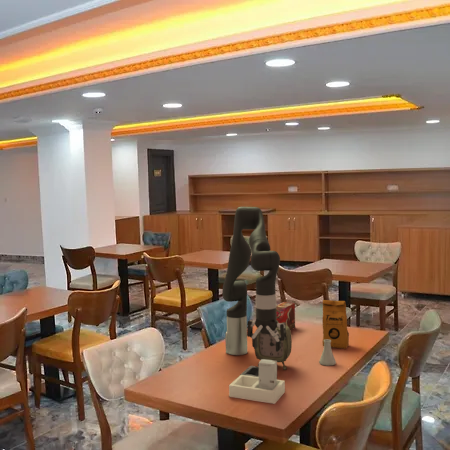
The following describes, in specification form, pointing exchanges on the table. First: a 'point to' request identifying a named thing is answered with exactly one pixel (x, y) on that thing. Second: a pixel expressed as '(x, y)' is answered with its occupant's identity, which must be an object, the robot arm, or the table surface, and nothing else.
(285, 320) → the ice cream box
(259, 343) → the tabletop clock
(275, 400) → the cream divided tray
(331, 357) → the flask
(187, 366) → the table surface
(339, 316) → the coffee package
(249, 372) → the socket block
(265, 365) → the skincare box
